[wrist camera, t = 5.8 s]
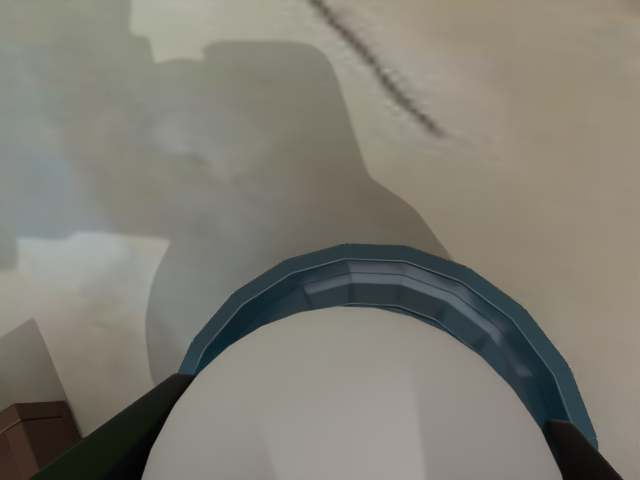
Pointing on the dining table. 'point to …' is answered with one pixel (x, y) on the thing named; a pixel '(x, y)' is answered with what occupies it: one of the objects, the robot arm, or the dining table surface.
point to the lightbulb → (350, 408)
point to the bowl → (412, 300)
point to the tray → (34, 437)
